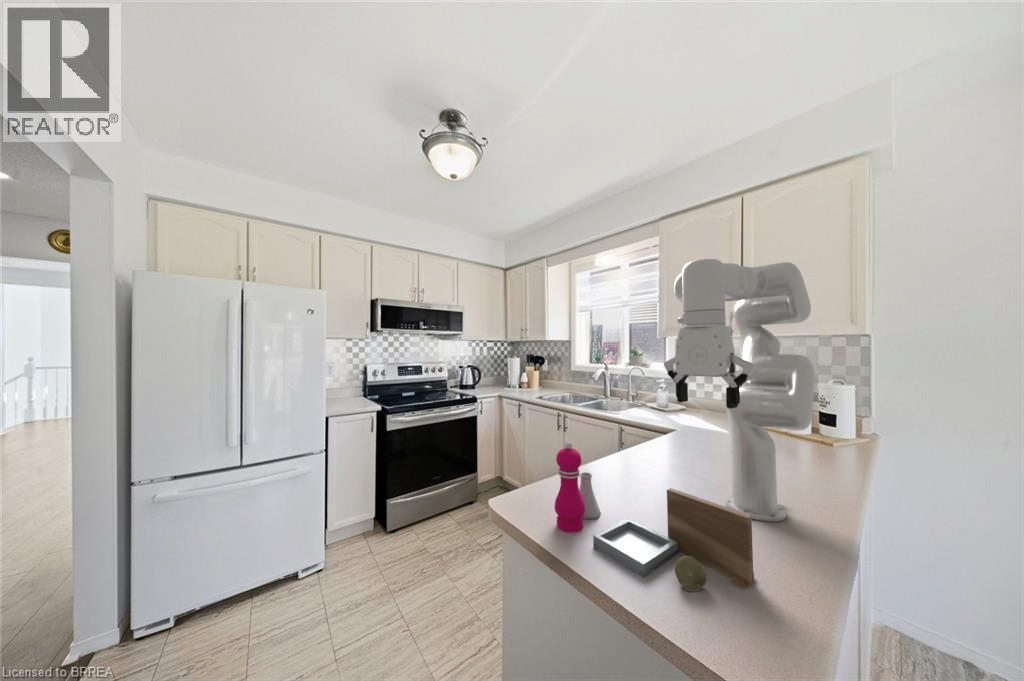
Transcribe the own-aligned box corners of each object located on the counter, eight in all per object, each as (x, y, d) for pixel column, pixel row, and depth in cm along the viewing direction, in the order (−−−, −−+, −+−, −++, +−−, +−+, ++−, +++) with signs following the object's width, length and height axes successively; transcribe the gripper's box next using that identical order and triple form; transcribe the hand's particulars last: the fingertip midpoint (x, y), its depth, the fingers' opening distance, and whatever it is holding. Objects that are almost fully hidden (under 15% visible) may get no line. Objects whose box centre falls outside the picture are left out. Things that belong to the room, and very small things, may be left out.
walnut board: (676, 541, 73) (675, 486, 73) (757, 579, 60) (755, 512, 61) (663, 549, 70) (662, 491, 70) (746, 591, 58) (743, 521, 58)
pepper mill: (578, 537, 75) (577, 448, 75) (549, 528, 79) (548, 443, 79) (589, 523, 81) (588, 440, 81) (562, 515, 85) (560, 436, 85)
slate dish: (627, 528, 78) (627, 518, 78) (678, 553, 68) (677, 541, 68) (593, 546, 71) (593, 535, 71) (643, 577, 61) (643, 564, 61)
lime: (709, 588, 59) (708, 559, 59) (694, 599, 56) (693, 569, 56) (684, 574, 62) (683, 546, 62) (669, 584, 60) (668, 555, 60)
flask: (601, 521, 82) (601, 480, 82) (572, 518, 83) (571, 478, 83) (600, 507, 89) (599, 470, 89) (572, 505, 90) (571, 468, 90)
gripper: (654, 323, 73) (656, 401, 73) (743, 316, 59) (746, 412, 59) (673, 324, 78) (675, 398, 77) (760, 318, 63) (763, 408, 63)
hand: (706, 404), depth 68 cm, fingers open, 9 cm apart
